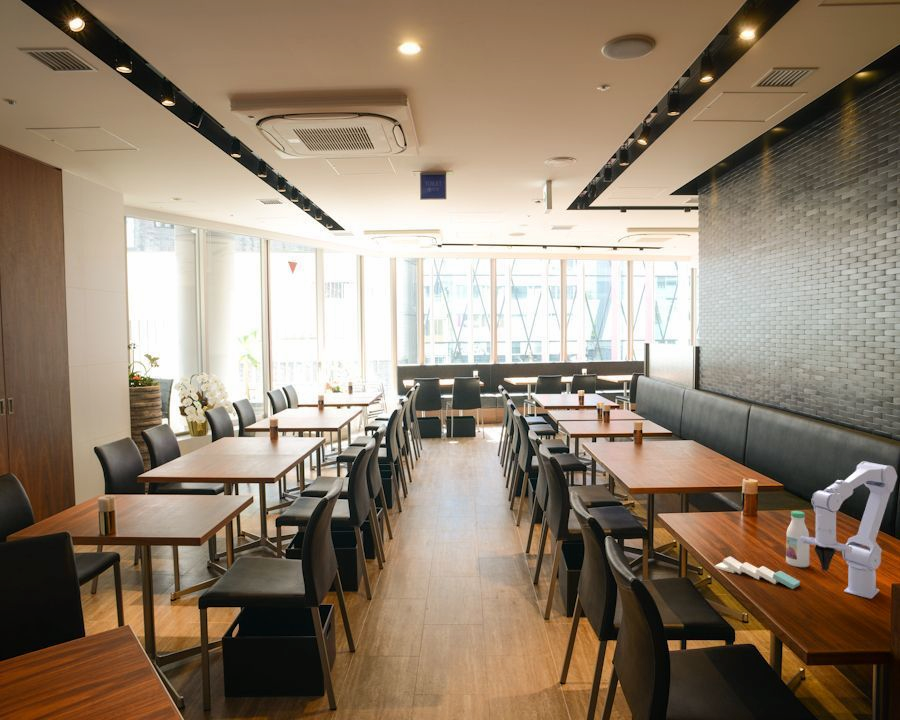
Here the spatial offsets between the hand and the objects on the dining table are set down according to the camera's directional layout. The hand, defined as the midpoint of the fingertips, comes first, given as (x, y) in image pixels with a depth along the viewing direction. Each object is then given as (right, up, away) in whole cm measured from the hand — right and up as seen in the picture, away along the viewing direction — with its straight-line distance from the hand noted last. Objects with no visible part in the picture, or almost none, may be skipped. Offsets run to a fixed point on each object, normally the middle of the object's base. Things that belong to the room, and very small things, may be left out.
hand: (825, 569), depth 201 cm
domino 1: (-17, -10, +27) cm, 33 cm away
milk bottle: (+10, -9, +33) cm, 36 cm away
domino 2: (-15, -9, +25) cm, 30 cm away
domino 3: (-11, -9, +20) cm, 24 cm away
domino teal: (-3, -9, +11) cm, 15 cm away
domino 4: (-7, -9, +16) cm, 20 cm away
